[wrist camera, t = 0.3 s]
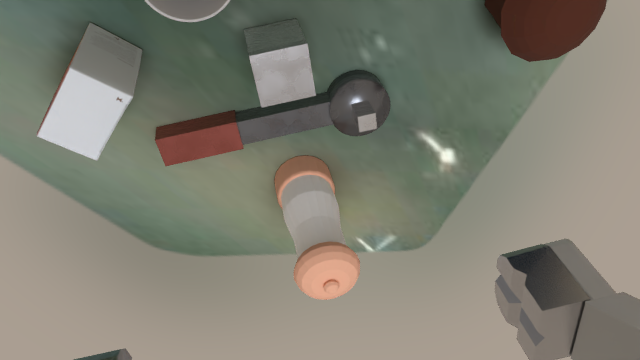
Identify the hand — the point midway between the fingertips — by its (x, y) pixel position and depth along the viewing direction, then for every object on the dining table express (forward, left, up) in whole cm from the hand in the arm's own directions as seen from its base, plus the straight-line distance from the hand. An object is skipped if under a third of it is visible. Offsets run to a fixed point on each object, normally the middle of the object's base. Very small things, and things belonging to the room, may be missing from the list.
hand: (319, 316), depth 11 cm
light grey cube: (+13, +2, -46) cm, 48 cm away
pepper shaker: (+31, +2, -47) cm, 56 cm away
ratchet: (+21, 0, -46) cm, 51 cm away
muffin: (+12, +30, -47) cm, 57 cm away
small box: (+11, -16, -47) cm, 51 cm away
